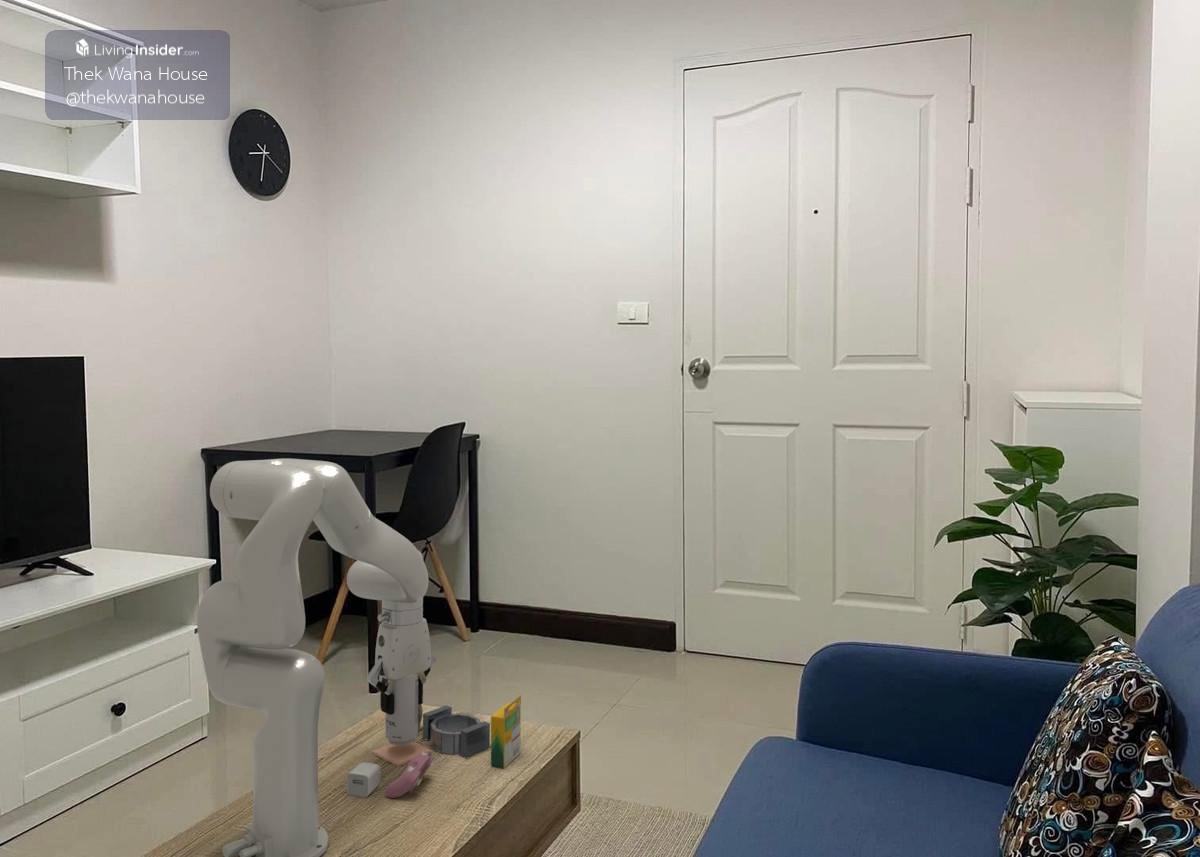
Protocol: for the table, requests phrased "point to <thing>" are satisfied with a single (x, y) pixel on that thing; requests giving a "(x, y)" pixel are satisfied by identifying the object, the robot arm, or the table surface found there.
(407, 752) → the coaster
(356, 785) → the usb wall charger
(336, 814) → the table surface
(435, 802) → the table surface
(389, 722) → the energy drink can
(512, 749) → the crayon box
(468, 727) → the ring holder
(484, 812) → the table surface
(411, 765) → the video game controller
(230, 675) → the robot arm
